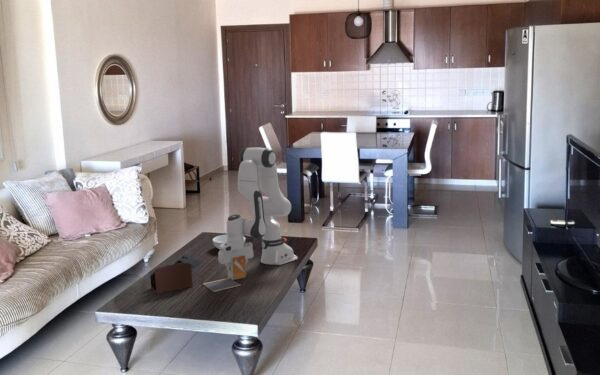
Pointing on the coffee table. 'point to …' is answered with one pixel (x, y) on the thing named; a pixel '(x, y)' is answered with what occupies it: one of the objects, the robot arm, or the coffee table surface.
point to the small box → (237, 267)
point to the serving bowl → (222, 240)
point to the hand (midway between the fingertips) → (236, 268)
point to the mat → (221, 284)
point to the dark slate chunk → (189, 261)
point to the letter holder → (171, 278)
